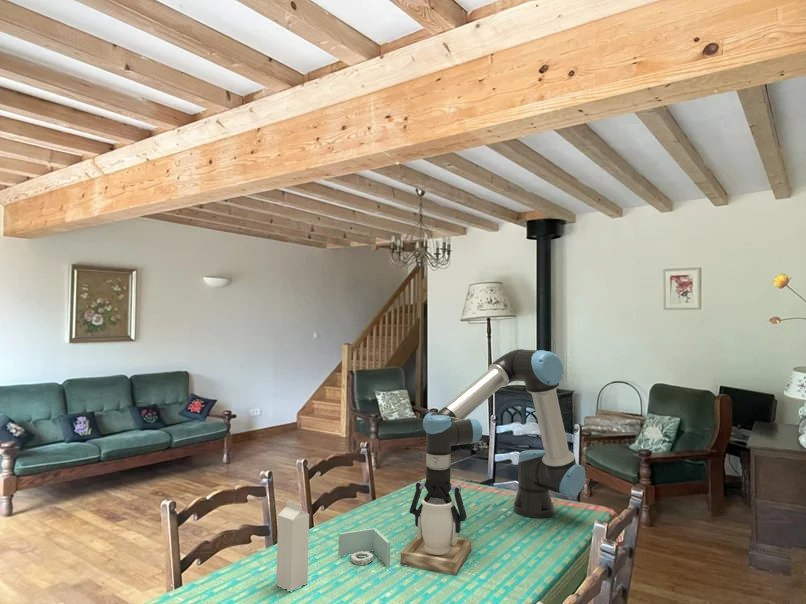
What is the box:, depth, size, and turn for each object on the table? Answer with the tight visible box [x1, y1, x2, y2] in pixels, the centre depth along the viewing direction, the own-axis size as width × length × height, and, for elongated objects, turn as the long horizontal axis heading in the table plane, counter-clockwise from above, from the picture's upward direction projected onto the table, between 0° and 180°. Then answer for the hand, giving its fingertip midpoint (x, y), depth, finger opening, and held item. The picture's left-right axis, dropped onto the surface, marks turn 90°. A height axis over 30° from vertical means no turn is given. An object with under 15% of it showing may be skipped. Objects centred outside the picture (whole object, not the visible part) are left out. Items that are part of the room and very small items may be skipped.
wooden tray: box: [400, 534, 472, 576], centre depth 161 cm, size 17×18×4 cm
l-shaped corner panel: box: [337, 527, 391, 567], centre depth 158 cm, size 12×12×8 cm
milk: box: [275, 500, 310, 591], centre depth 143 cm, size 6×6×22 cm
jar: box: [420, 496, 456, 555], centre depth 162 cm, size 11×10×15 cm
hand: (437, 540), depth 161 cm, fingers closed on jar, 10 cm apart
